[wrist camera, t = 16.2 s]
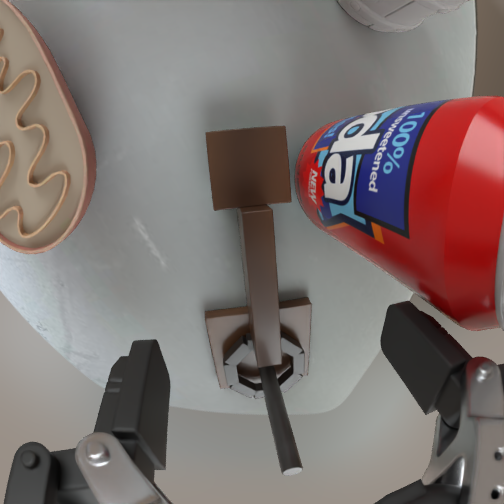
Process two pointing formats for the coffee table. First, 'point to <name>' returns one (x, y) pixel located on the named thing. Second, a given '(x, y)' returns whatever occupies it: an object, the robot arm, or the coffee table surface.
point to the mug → (396, 12)
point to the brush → (255, 243)
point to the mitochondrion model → (38, 143)
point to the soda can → (418, 199)
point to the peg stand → (225, 336)
